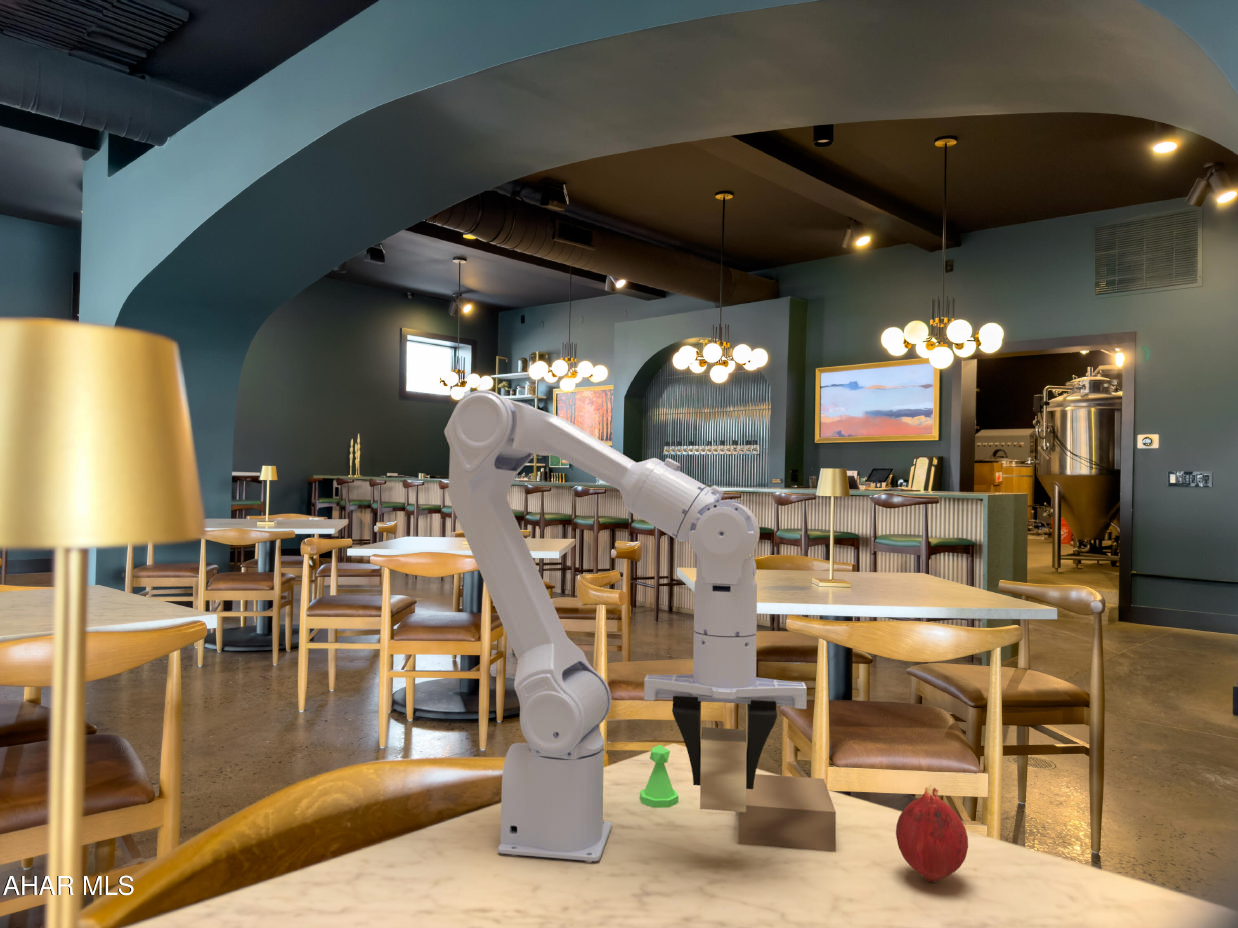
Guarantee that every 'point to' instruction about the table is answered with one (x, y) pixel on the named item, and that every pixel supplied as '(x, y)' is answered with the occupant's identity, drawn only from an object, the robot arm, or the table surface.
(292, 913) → the table surface
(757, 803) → the walnut block
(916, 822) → the onion
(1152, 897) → the table surface
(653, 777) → the game piece
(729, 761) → the maple block
